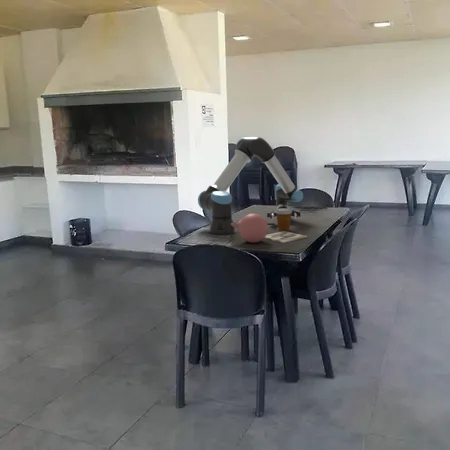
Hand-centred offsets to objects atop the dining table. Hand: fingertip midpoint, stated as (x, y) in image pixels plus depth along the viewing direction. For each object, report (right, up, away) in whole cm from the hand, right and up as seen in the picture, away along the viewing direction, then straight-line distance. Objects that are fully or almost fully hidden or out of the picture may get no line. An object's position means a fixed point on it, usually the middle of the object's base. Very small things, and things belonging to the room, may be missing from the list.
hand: (284, 217), depth 311 cm
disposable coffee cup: (-1, -8, -4) cm, 9 cm away
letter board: (-3, -11, -24) cm, 27 cm away
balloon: (-22, -14, -31) cm, 41 cm away
